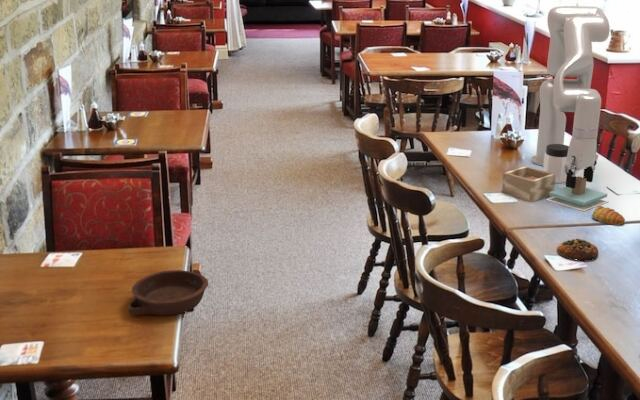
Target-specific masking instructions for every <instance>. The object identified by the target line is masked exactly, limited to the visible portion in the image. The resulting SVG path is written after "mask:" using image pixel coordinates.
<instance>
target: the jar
mask: <svg viewBox="0 0 640 400" xmlns="http://www.w3.org/2000/svg"><path fill="white" fill-rule="evenodd" d="M568 148H569V145H567V144H563V145H562V144H550V145H547V147H546V153H545V156H544V166H542V167H543V169H542V171H545V172H549V173H552V174H556V175H555V184H562V183H563V184H564V183H566V178H567V175H566V172H565V166H564V165H565V163H566V160H567V154H568Z"/></svg>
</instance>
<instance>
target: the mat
mask: <svg viewBox="0 0 640 400" xmlns="http://www.w3.org/2000/svg"><path fill="white" fill-rule="evenodd" d="M545 200H546V202H551V203H554V204H556V205H560V206H563V207H567V208H570V209H573V210H577V211H579V212H584V213H585V212H587V211H590V210H593V209H596V208H597V207H598V206H603V205H604V204H607V203H609V201H608V200H605V199H600V200H597V201H595V202H593V203H590V204H588V205H585V206H583V207H580V206H577V205H574V204H570V203H567V202H564V201H560V200H558V198H557V197H554V196H551V197H549V198H547V199H545Z"/></svg>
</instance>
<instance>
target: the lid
mask: <svg viewBox="0 0 640 400" xmlns="http://www.w3.org/2000/svg"><path fill="white" fill-rule="evenodd" d="M586 180H587V179H586V178H583V176H576V185H575V188H574V189H573V188H569V187H566V186H563V187H560V188H558V189H557V188H556V189H554V191H552V192H549V195H550V196H549V197H557V198H558V200H560V201H564V202H567V203H570V204H574V205H577V206H580V207H583V206H585V205H588V204H590V203H593V202H595V201H597V200H600V199H602V200H604V199H605V198H607V197H608V193H605V192H602V191H598V190H595V189H591V188H587V181H586Z"/></svg>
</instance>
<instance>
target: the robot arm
mask: <svg viewBox="0 0 640 400" xmlns="http://www.w3.org/2000/svg"><path fill="white" fill-rule="evenodd" d="M547 29H548V31H549V38H550V39H549V48H548V55H547V63H546V64H547V65H546V70H547V72H548V74H549V75H550V76H552V77H554V78H551V79H550V78H549V79H547V80H544V81H542V83H541V85H540V86H539V102H540V103H539V104H540V105H539V110H540V111H539V119H538V120H539V122H538V132H537V133H538V134H537V142H536V152H535V155H534V156H532V157H531V159H530V161H531V163H533V164H535V165H538V166H542V167H543V166H544V156H545V153H546V147H547V145H550V144H562V145H565V144H564V143H565V132H566V124H567V116H566V113H574V115H573V126H572V134H571V139H570V140H569V141H570V142H569V145H568V146H569V148H568V154H567V160H566V163H565V165H564V166H565V172H566V175H567V178H566V182H565V187H569V188H573V189H574V188H575V185H576V177H577V176H576V175H577V173H578V171H581V170H583V176H582V178H586V179H587V180H586V183H593V179H594V172H595V170H596V166H597V161H598V159H599V155H598V154H597V144H598V142H597V138H598V132H599V123H600V118H601V117H600V116H601V107H602V97H601V94H600V93H599V92H598V90H596V89H594V88H591V87H592V86H591V85H592V78H593V71H594V55H593V44H592V43H604V42H605V41H607V40H608V38H609V36H610V29H611V28H610V23H609V20H608V18H607V15H606V14H605V13H604V12H603V10H602V9H601V8H600V7H597V6H575V5H574V6H572V5H569V6H566V5H565V6H555V7H552V8H551V9H549V11H548V13H547ZM568 78H569V79H568ZM573 78H574V79H573ZM575 78H576V79H575Z"/></svg>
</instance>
